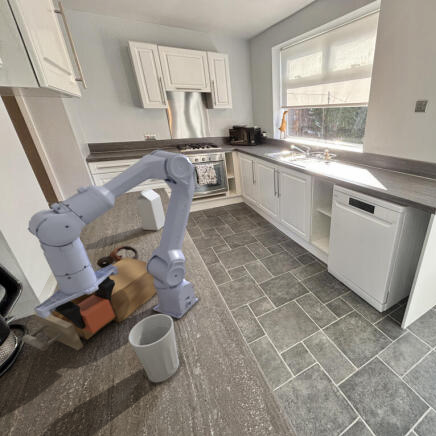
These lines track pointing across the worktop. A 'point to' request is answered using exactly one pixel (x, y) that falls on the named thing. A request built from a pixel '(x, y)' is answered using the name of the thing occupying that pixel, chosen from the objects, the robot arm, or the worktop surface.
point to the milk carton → (150, 210)
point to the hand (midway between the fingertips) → (94, 317)
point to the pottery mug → (115, 256)
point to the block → (95, 313)
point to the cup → (156, 346)
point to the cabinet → (130, 287)
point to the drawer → (60, 329)
